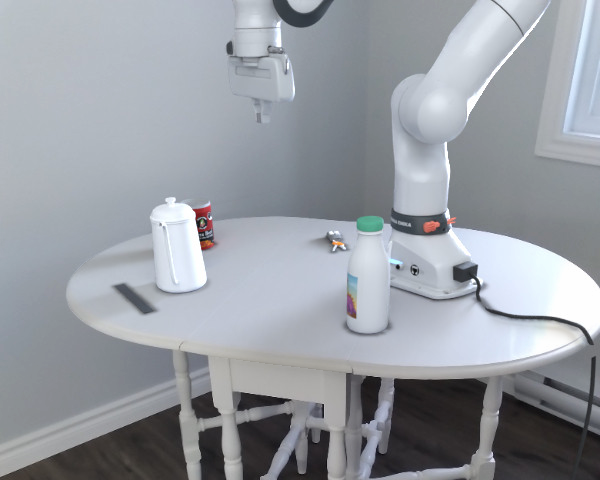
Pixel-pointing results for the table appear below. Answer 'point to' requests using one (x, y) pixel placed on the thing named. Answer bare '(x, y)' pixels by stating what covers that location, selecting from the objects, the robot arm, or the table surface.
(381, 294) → the milk bottle
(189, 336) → the table surface
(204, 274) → the coffeepot
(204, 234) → the canned food
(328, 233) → the key chain
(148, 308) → the tape line
